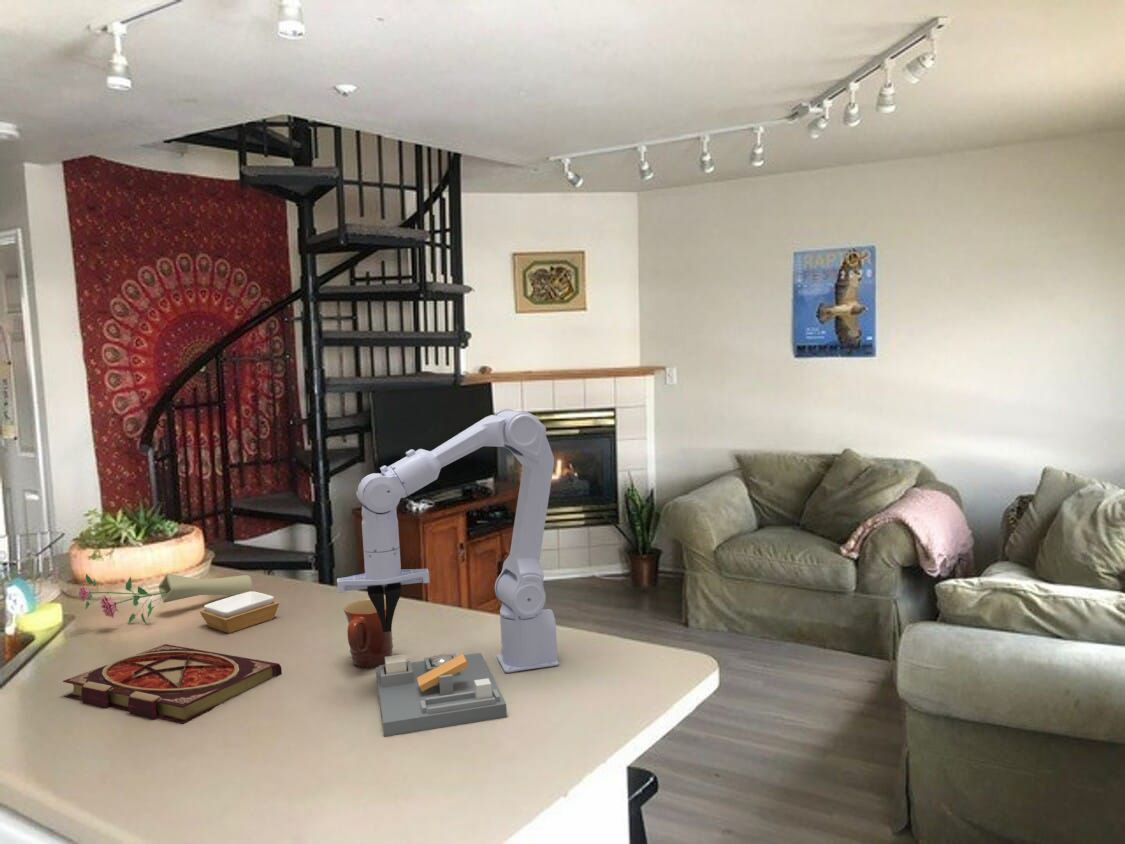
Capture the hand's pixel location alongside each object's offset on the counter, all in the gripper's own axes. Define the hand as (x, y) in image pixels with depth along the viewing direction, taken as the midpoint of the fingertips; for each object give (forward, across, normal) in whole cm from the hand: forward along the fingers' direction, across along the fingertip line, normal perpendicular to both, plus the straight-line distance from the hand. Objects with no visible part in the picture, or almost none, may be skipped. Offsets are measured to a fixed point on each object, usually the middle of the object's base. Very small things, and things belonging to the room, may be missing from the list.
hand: (386, 629), depth 136 cm
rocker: (+6, -8, +8) cm, 13 cm away
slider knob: (+8, -13, +14) cm, 21 cm away
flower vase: (+10, +42, -57) cm, 72 cm away
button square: (+6, -1, +2) cm, 7 cm away
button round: (+7, -9, +1) cm, 11 cm away
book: (+11, +35, -15) cm, 40 cm away
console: (+10, -7, +6) cm, 14 cm away
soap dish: (+10, +28, -46) cm, 54 cm away
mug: (+10, +3, -12) cm, 16 cm away
